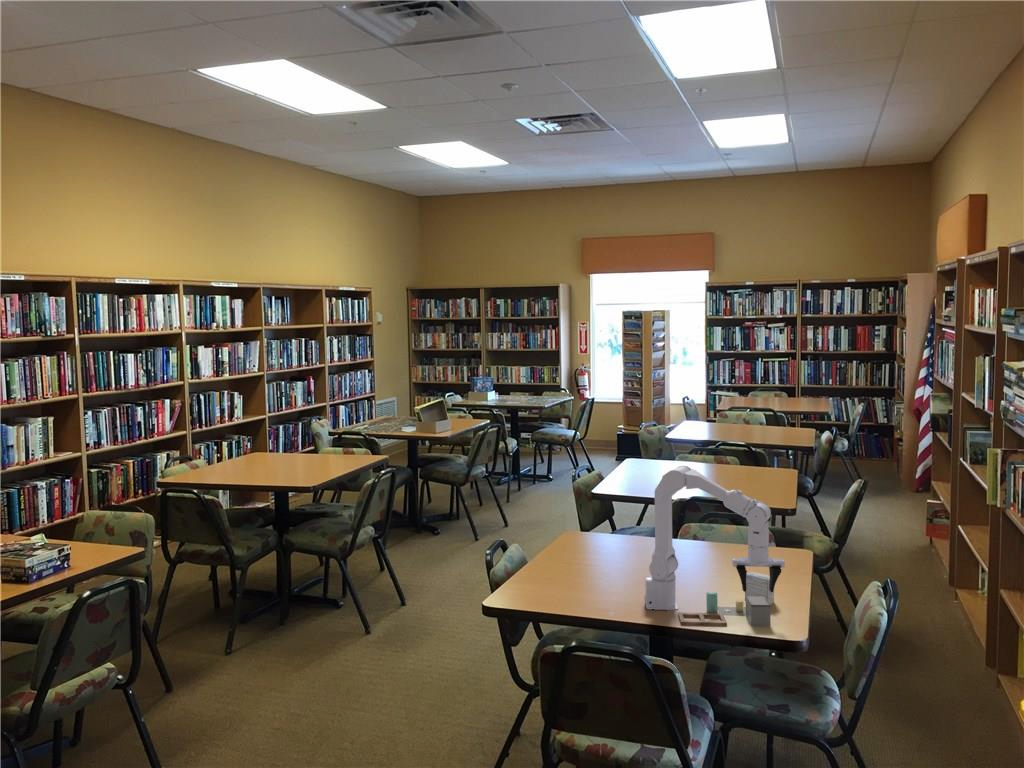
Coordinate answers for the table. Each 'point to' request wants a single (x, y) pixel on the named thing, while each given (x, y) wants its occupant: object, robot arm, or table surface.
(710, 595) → the teal peg
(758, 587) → the medicine box
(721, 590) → the table surface
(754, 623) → the housing
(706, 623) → the walnut board
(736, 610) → the tile
